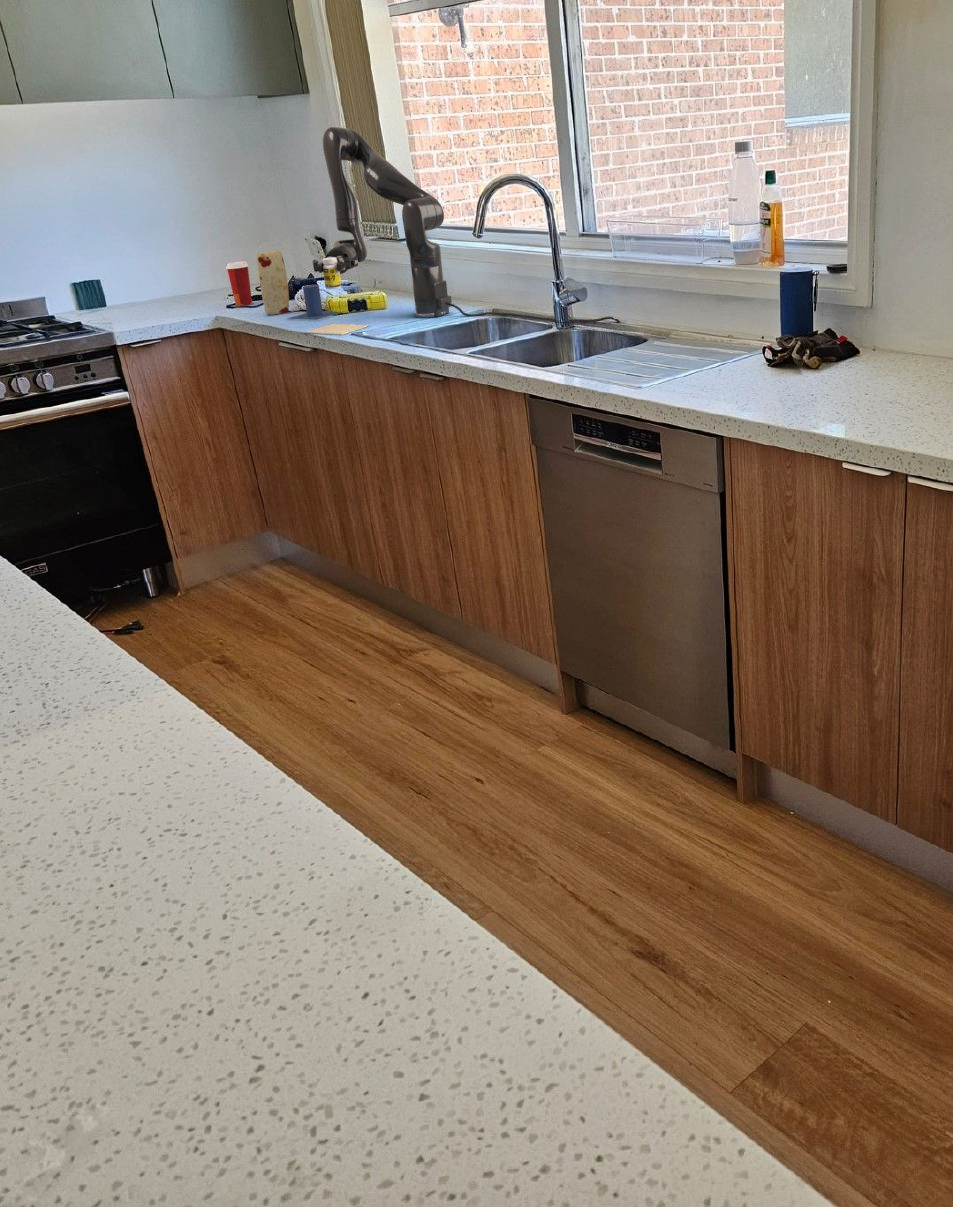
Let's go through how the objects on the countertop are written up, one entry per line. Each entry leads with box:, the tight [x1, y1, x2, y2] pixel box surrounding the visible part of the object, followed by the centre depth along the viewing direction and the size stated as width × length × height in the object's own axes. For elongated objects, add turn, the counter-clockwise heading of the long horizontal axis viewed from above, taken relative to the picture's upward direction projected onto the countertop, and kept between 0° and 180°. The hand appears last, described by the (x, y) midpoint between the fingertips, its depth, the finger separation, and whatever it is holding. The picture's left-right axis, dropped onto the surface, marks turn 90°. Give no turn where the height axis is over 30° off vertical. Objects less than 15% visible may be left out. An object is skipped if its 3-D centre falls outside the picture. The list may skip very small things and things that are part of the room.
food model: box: [256, 249, 290, 316], centre depth 345 cm, size 10×7×20 cm
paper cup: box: [225, 260, 253, 307], centre depth 370 cm, size 8×8×14 cm
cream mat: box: [305, 323, 369, 336], centre depth 316 cm, size 14×12×1 cm
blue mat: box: [288, 310, 342, 321], centre depth 340 cm, size 12×12×1 cm
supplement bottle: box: [322, 257, 343, 290], centre depth 311 cm, size 5×5×8 cm
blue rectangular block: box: [302, 284, 324, 317], centre depth 338 cm, size 5×5×9 cm
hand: (329, 268), depth 308 cm, fingers closed on supplement bottle, 4 cm apart
